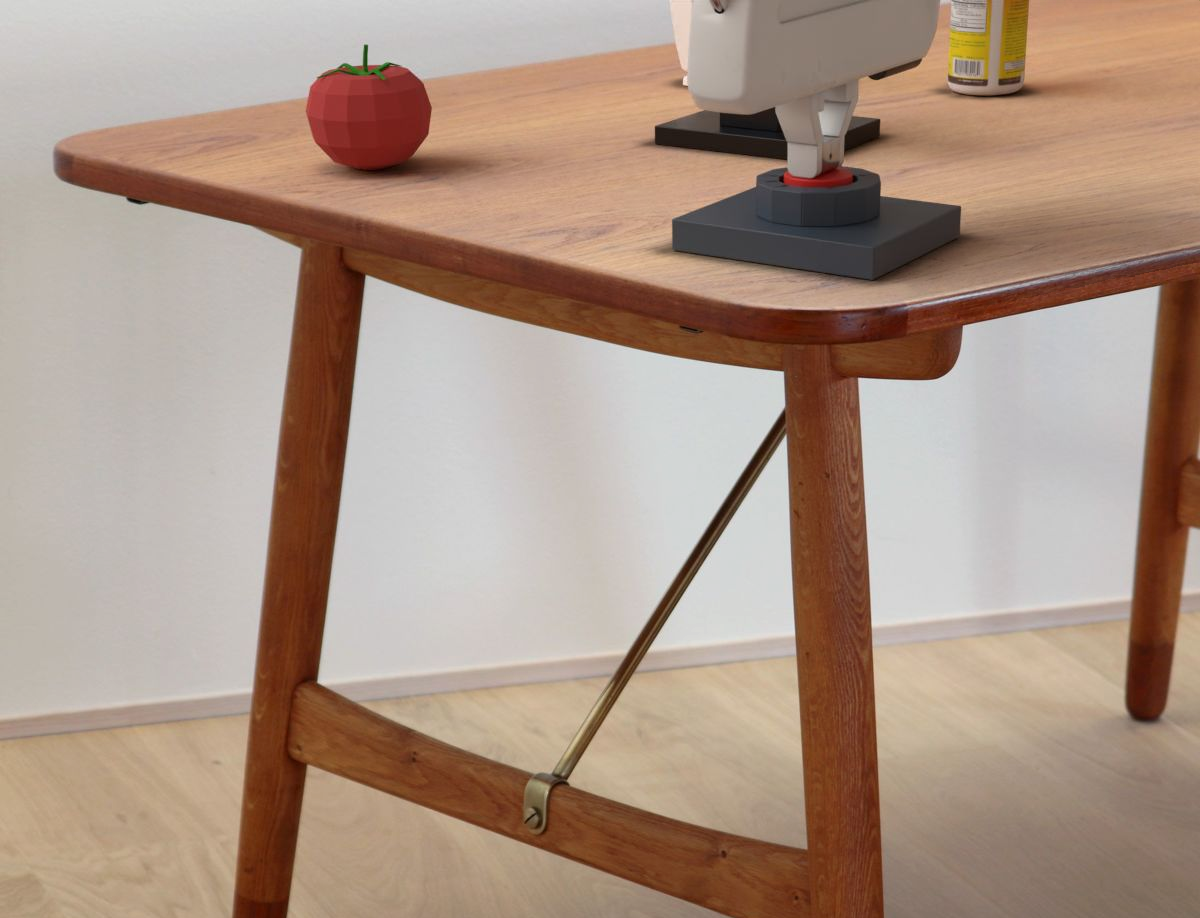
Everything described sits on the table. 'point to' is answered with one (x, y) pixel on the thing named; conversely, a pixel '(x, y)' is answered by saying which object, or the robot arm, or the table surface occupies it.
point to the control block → (818, 226)
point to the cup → (681, 30)
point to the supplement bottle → (987, 46)
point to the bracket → (747, 133)
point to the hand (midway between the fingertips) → (815, 172)
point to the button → (821, 179)
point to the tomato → (369, 114)
